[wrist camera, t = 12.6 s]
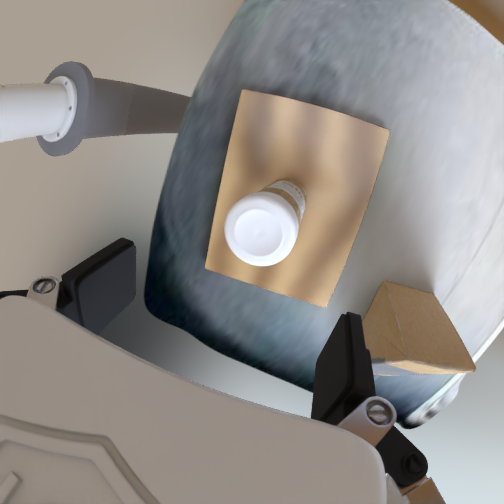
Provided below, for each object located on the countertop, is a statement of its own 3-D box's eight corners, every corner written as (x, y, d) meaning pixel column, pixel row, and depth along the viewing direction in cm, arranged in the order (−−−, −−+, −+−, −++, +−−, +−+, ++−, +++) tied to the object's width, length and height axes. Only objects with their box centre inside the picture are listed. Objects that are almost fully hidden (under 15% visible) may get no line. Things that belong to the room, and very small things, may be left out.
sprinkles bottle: (257, 191, 29) (208, 220, 17) (293, 169, 27) (268, 180, 15) (280, 226, 30) (248, 280, 18) (316, 206, 28) (310, 247, 16)
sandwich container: (338, 366, 37) (333, 450, 23) (380, 278, 31) (407, 359, 17) (387, 376, 36) (396, 456, 22) (435, 294, 30) (478, 370, 16)
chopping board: (209, 263, 36) (204, 268, 35) (245, 91, 27) (241, 88, 25) (326, 301, 34) (326, 308, 33) (387, 131, 25) (390, 130, 23)
